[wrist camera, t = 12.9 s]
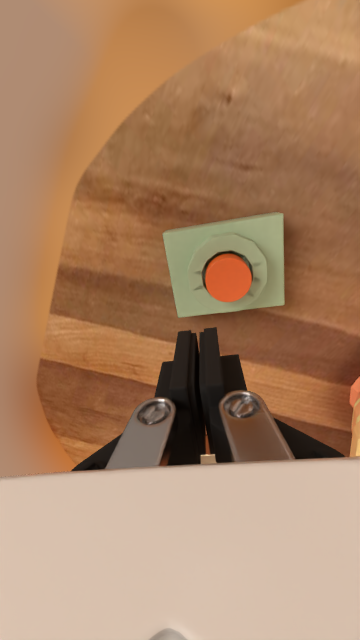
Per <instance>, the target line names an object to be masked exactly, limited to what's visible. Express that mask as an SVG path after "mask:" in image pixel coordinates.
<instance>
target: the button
mask: <svg viewBox="0 0 360 640" xmlns="http://www.w3.org/2000/svg"><path fill="white" fill-rule="evenodd" d="M205 282H206V288H207V290H208V292H209V293H210V295H211V296H212V297H214V298H215V299H217V300H219V301H222V302H233V301H237V300H239V299H241V298H242V297H243V296H244V295H245V294H246V293H247V292H248V291H249V289H250V287H251V283H252V275H251V271H250V269H249V268H248V266H247V264H246V263H245V261H244V260H243V259H242V258H241V257H239V256H237V255H234V254H222V255H219V256H217V257H215V258H214V259H213V260H212V261H211V262H210V263H209V265H208V267H207V269H206V274H205Z"/></svg>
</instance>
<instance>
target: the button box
mask: <svg viewBox="0 0 360 640" xmlns="http://www.w3.org/2000/svg"><path fill="white" fill-rule="evenodd" d="M163 240H164V245H165V250H166V256H167V261H168V267H169V272H170V277H171V283H172V288H173V294H174V299H175V304H176V310H177V315H178V318H181V317H189V316H197V315H206V314H214V313H226V312H234V311H241V310H247V309H256V308H264V307H272V306H281V305H284V225H283V214H282V213H278V212H273V213H267V214H261V215H255V216H249V217H243V218H237V219H231V220H225V221H219V222H213V223H207V224H201V225H195V226H189V227H183V228H177V229H171V230H166V231H165V232H164V233H163ZM222 254H234V255H237V256H239V257H241V258H242V259H243V260H244V261H245V263H246V264H247V266H248V268H249V269H250V271H251V275H252V283H251V287H250V289H249V291H248V292H247V293H246V294H245V295H244V296H243V297H242V298H241V299H239V300H237V301H233V302H222V301H219V300H217V299H215V298H214V297H212V296H211V295H210V293H209V292H208V290H207V288H206V282H205V274H206V269H207V267H208V265H209V263H210V262H211V261H212V260H213V259H214V258H215V257H217V256H219V255H222Z"/></svg>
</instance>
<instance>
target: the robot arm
mask: <svg viewBox="0 0 360 640" xmlns="http://www.w3.org/2000/svg"><path fill="white" fill-rule="evenodd" d="M205 425H206V431H207V437H208V443H209V449H210V454H215V460H216V462H217V463H213V464H201V455H206V431H205ZM0 640H360V457H359V456H356V457H345V456H344V455H343V454H341V453H339V452H338V451H336V450H335V449H333V448H331V447H329V446H327V445H325V444H323V443H321V442H319V441H317V440H316V439H314V438H312V437H310V436H308V435H306V434H304V433H302V432H300V431H298V430H296V429H294V428H292V427H291V426H289V425H287V424H285V423H283V422H281V421H279V420H277V419H275V418H273V417H272V415H271V413H270V411H269V410H268V408H267V406H266V404H265V402H264V400H263V399H262V398H261V397H260V396H259V395H257V394H256V393H253V392H251V391H247V388H246V384H245V380H244V376H243V372H242V368H241V363H240V359H239V355H238V354H237V355H227V356H220V352H219V344H218V336H217V328H216V327H215V328H206V329H204V332H200V350H199V349H198V342H197V336H196V333H191V330H189V331H180V332H178V337H177V343H176V349H175V355H174V361H168V362H163V363H162V366H161V371H160V375H159V380H158V384H157V388H156V393H155V397H154V398H151V399H148V400H146V401H144V402H142V403H141V404H140V405H138V406H137V407H136V409H135V410H134V412H133V414H132V416H131V418H130V420H129V422H128V424H127V426H126V428H125V430H124V432H123V433H122V434H121V435H120V436H118V437H117V438H115V439H114V440H112V441H111V442H110V443H108V444H107V445H105V446H104V447H102V448H101V449H100V450H98V451H97V452H95V453H94V454H92V455H91V456H90V457H88V458H87V459H85V460H84V461H83V462H81V463H80V464H78V465H77V466H76V467H75V468H74V469H72V471H70V472H54V473H38V474H28V475H18V476H8V477H0Z"/></svg>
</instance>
